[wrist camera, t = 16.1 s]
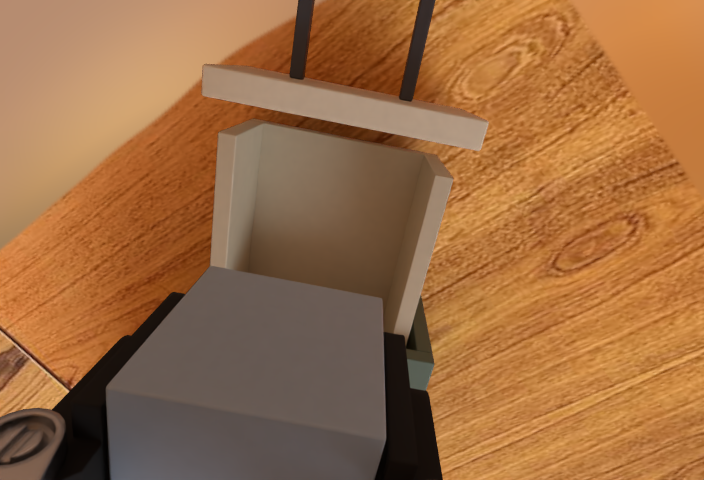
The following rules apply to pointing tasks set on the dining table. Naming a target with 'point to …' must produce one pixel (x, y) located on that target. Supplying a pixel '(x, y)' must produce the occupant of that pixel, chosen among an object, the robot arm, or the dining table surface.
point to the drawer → (334, 179)
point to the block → (253, 386)
